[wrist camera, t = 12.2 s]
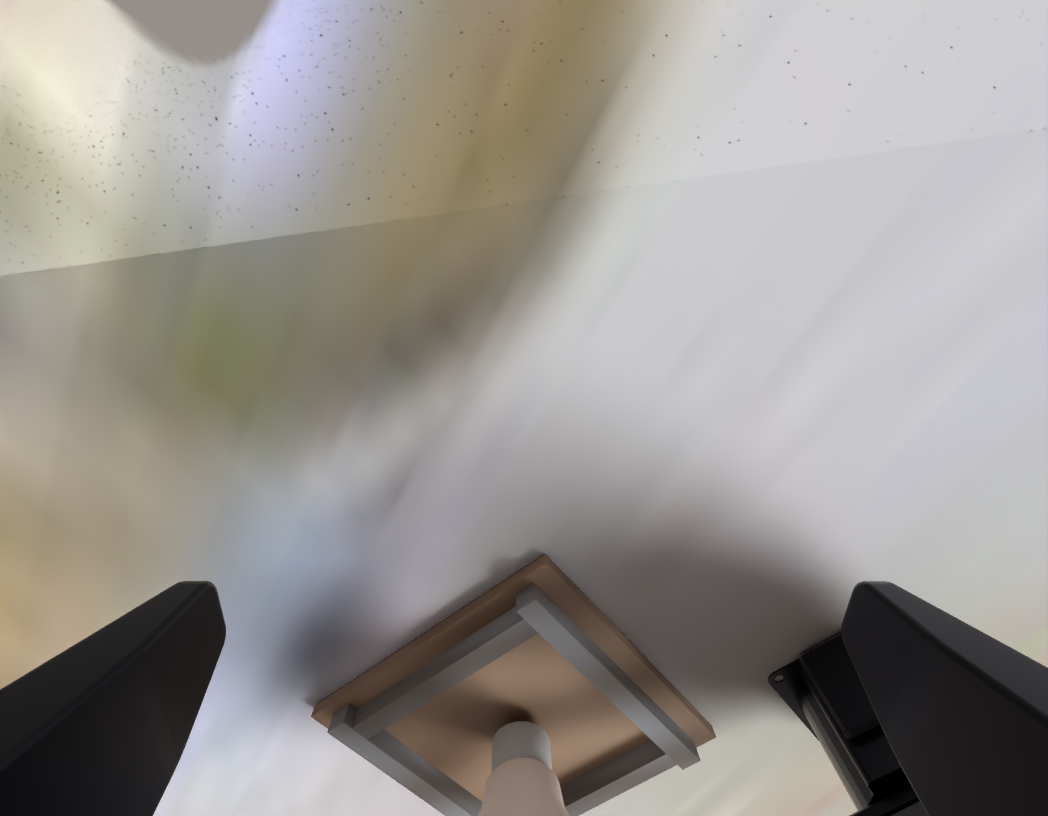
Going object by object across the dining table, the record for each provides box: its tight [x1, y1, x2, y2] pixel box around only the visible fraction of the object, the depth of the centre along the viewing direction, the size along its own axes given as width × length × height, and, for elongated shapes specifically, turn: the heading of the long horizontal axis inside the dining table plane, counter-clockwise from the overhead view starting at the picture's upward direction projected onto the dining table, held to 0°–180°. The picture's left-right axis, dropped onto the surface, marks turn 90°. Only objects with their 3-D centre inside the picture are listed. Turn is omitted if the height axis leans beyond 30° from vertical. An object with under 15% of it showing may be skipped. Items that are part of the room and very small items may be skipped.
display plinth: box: [311, 554, 716, 816], centre depth 27 cm, size 14×14×2 cm
